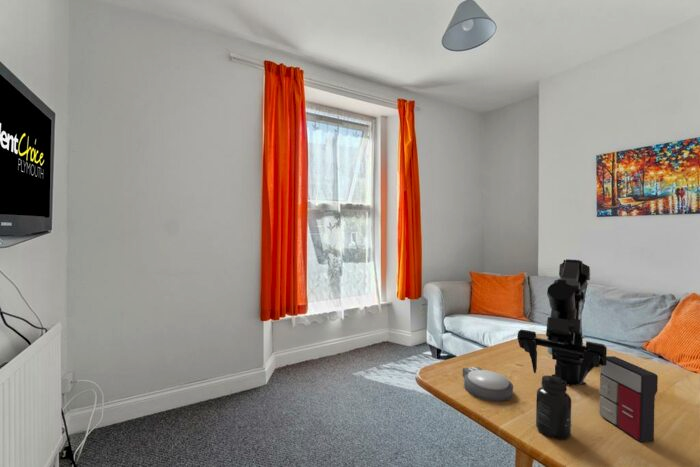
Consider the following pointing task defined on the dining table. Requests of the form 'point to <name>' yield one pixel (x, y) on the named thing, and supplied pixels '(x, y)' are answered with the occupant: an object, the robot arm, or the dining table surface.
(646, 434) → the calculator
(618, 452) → the dining table surface
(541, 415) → the supplement bottle
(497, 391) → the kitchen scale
